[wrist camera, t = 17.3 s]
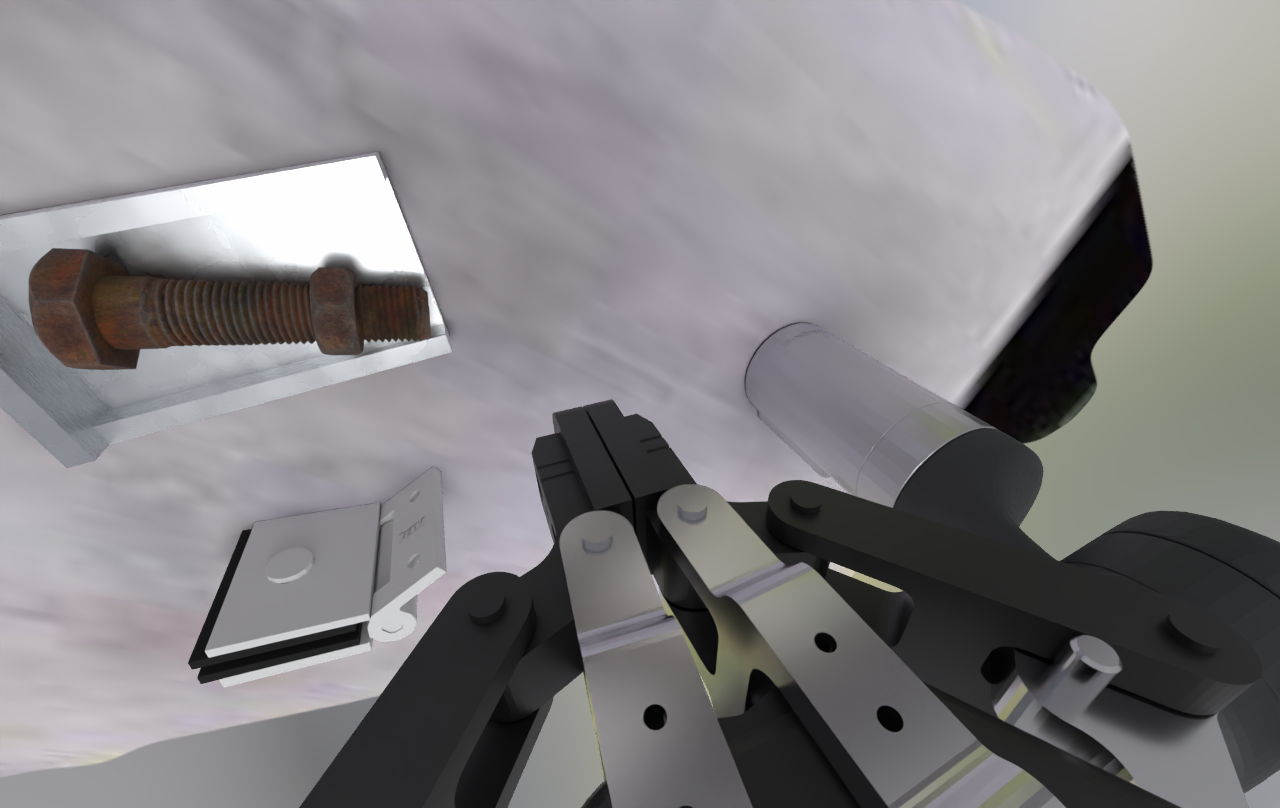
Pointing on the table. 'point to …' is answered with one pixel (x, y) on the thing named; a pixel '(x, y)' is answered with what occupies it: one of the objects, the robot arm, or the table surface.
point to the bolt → (207, 311)
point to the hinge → (323, 585)
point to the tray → (206, 250)
